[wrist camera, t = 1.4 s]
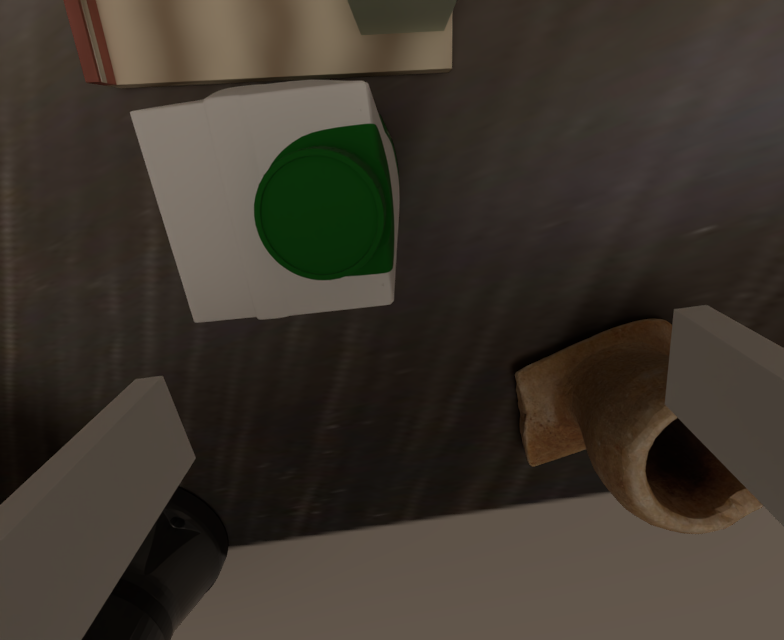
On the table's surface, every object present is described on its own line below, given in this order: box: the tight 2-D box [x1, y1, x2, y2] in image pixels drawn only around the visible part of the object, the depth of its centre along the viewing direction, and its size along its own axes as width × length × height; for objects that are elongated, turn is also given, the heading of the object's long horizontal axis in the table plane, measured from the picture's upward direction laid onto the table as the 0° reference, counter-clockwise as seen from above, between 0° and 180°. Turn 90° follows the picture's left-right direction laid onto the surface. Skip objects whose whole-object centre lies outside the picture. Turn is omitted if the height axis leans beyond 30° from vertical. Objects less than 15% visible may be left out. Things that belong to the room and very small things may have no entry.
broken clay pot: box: [515, 319, 763, 534], centre depth 31 cm, size 15×12×15 cm
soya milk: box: [130, 80, 400, 323], centre depth 23 cm, size 9×9×20 cm
